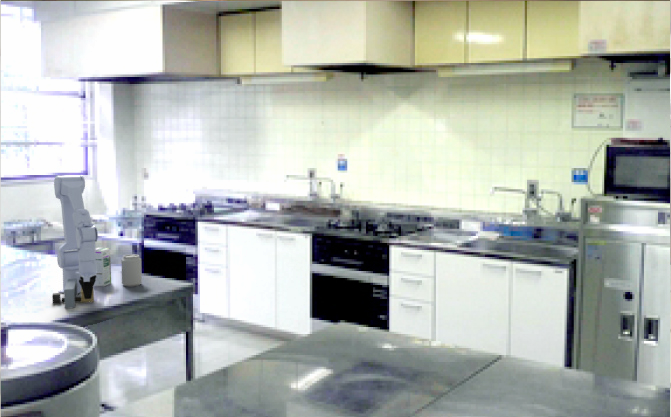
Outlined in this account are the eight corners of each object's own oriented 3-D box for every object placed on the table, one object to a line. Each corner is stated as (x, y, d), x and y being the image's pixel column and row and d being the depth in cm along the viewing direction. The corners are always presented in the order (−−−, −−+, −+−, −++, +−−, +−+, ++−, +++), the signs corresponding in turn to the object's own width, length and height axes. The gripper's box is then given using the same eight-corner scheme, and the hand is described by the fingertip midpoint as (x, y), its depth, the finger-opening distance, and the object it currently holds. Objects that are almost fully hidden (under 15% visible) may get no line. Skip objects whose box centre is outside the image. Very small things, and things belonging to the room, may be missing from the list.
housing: (64, 308, 229) (64, 289, 228) (68, 296, 245) (68, 278, 244) (74, 307, 230) (73, 289, 229) (77, 296, 246) (77, 278, 245)
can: (117, 285, 263) (117, 256, 261) (130, 282, 270) (129, 252, 268) (133, 287, 260) (132, 257, 259) (145, 283, 267) (145, 254, 266)
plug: (52, 304, 234) (51, 290, 233) (53, 301, 238) (53, 287, 237) (93, 302, 238) (92, 288, 237) (93, 299, 242) (93, 285, 241)
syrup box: (103, 286, 261) (102, 250, 259) (90, 285, 262) (89, 249, 261) (111, 283, 267) (110, 247, 265) (98, 282, 268) (97, 247, 266)
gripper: (76, 256, 243) (77, 293, 245) (73, 264, 229) (74, 302, 231) (97, 255, 245) (98, 291, 247) (95, 263, 232) (96, 301, 233)
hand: (88, 297), depth 239 cm, fingers closed on plug, 4 cm apart
